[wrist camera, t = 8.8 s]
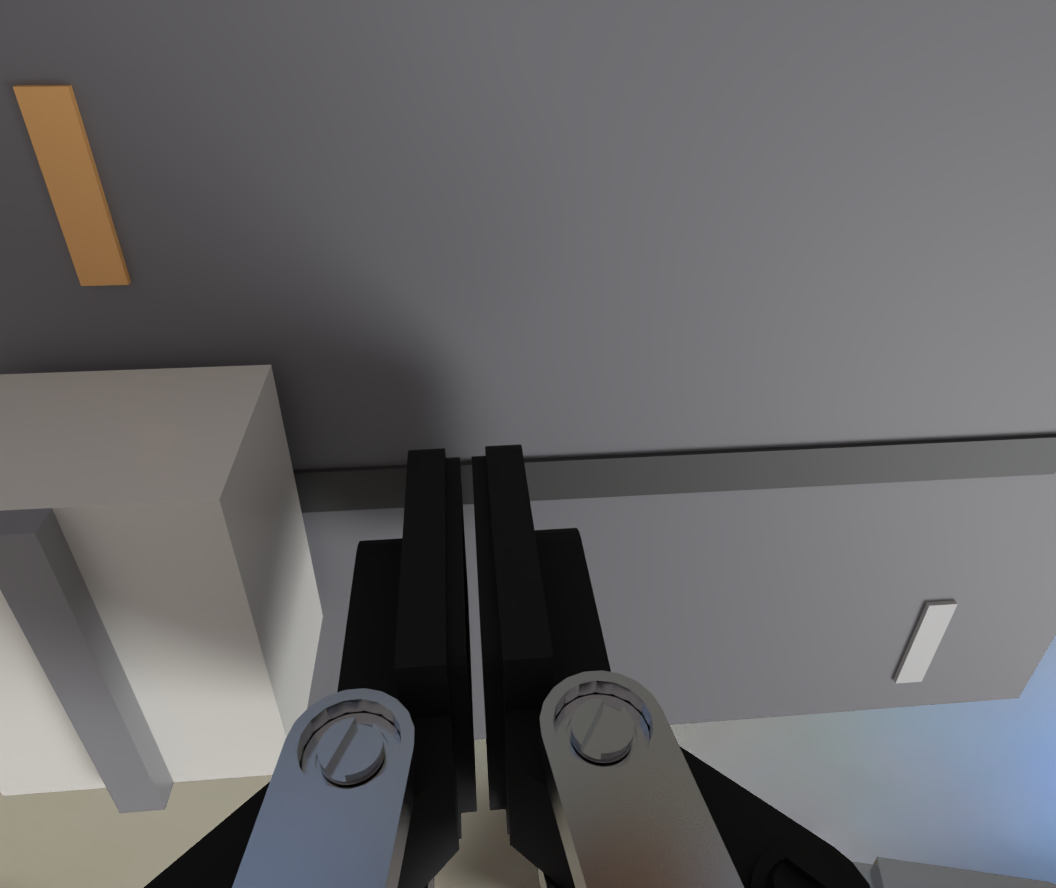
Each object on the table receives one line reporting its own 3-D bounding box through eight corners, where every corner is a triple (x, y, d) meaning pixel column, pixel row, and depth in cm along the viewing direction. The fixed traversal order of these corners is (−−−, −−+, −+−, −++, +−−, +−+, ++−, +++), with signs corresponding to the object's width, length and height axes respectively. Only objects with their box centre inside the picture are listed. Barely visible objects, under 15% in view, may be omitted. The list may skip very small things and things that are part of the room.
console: (968, 631, 19) (1021, 701, 17) (143, 688, 18) (110, 771, 16) (1289, -22, 11) (1443, -11, 9) (-165, -29, 10) (-300, -17, 8)
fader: (323, 616, 13) (291, 799, 11) (86, 630, 13) (-11, 823, 10) (271, 364, 11) (210, 524, 8) (-34, 375, 10) (-212, 546, 7)
